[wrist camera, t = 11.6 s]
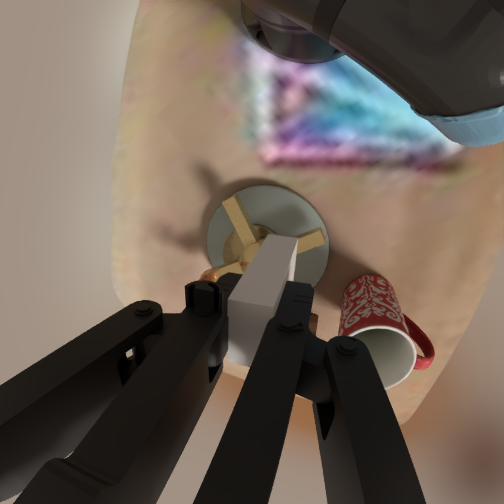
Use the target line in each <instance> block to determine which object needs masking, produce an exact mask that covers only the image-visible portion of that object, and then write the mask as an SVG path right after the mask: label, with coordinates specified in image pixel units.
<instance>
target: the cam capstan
mask: <svg viewBox="0 0 504 504" xmlns="http://www.w3.org/2000/svg"><path fill="white" fill-rule="evenodd" d="M222 204H223V206H224V208H225V210H226V212H227V213H228V215H229V217H230V219H231V221H232V223H233V225H234V227H235V230H234V231H233V232H232V233H231V234H230V235H229V236H228V238H227V239H226V241H225V244H224V248H223V257H224V261H225V263H224V264H222V265H219V266H217V267H214V268H212V269H209V270H206V271H205V272H204V273H203V274H202V275H201V278H200V279H199V280H198V281H200V280H207V281H213V282H216V281H217V280H218V279H219V277H220V276H222V275H224V274H226V273H228V272H231V273H237V274H244V272H245V271H246V269H247V267H248V266H249V264H250V263H251V261H252V259H253V258H254V256H255V255H256V253H257V251H258V250H259V248H260V247H261V245H262V243H263V242H264V240H265V239H266V237H267V235H268V234H272V235H278V234H277V233H276V232H275V231H273V230H272V229H270V228H269V227H267V226H264V225H261V224H254V223H252V221H251V219H250V217H249V215H248V213H247V211H246V209H245V207H244V205H243V203H242V201H241V199H240V197H239V195H238V194H236V195H234V196H232V197H230V198H227V199H226V200H224V201H223V202H222ZM294 238H298V244H297V253H296V254H299V253H301V252H304V251H307V250H309V249H312V248H315V247H318V246H320V245H323V244H325V243H326V238H325V235H324V233H323V231H322V228H321V226H320V227H318V228H315V229H312V230H310V231H307V232H305V233H302V234H299V235H297V236H294Z"/></svg>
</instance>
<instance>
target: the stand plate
mask: <svg viewBox="0 0 504 504" xmlns="http://www.w3.org/2000/svg"><path fill="white" fill-rule="evenodd" d="M236 194H238V195H239V197H240V199H241V201H242V203H243V205H244V207H245V209H246V211H247V213H248V215H249V217H250V219H251V221H252V223H254V224H261V225H264V226H267V227H269V228H270V229H272V230H273V231H275V232H276V233H277V234H278V235H280V236H287V237H294V236H297V235H299V234H302V233H305V232H307V231H310V230H312V229H315V228H318V227H320V226H321V228H322V231H323V233H324V235H325V238H326V243H325V244H323V245H320V246H318V247H315V248H312V249H309V250H307V251H304V252H301V253H299V254H296V262H295V271H294V279H293V281H294V282H301V283H308V284H311V286H312V287H313V288H314V287H315V286H316V284H317V283H318V282H319V280H320V279H321V277H322V275H323V274H324V271H325V269H326V266H327V262H328V256H329V237H328V233H327V229H326V226H325V223H324V221H323V219H322V218H321V216H320V214H319V213H318V211H317V210H316V209H315V208H314V206H313V205H312V204H311V203H310V202H309V201H307V200H306V199H305V198H304V197H302V196H301V195H299V194H298V193H296V192H294V191H292V190H289V189H287V188H283V187H280V186H274V185H257V186H252V187H248V188H245V189H243V190H240V191H238V192H237V193H235V194H233V195H232V196H234V195H236ZM232 196H230V197H232ZM230 197H229V198H230ZM234 230H235V227H234V225H233V223H232V221H231V219H230V217H229V215H228V213H227V212H226V210H225V208H224V206H223V204H221V205H220V206H219V207H218V209H217V210H216V211H215V213H214V214H213V216H212V218H211V220H210V223H209V226H208V231H207V239H206V243H207V252H208V256H209V259H210V262H211V265H212V267H213V268H214V267H217V266H219V265H222V264H224V263H225V261H224V257H223V248H224V244H225V241H226V239H227V238H228V236H229V235H230V234H231V233H232V232H233V231H234Z"/></svg>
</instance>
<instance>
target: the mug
mask: <svg viewBox="0 0 504 504" xmlns="http://www.w3.org/2000/svg"><path fill="white" fill-rule="evenodd" d="M342 335H344V336H352V337H354V338H357V339H359V340H361V341H362V342H364V343H365V345H366V346H367V348H368V350H369V352H370V354H371V357H372V359H373V361H374V364H375V366H376V369H377V371H378V374H379V376H380V378H381V381H382V383H383V386H384V388H385V390H386V389H389V388H391V387H394V386H395V385H397V384H399V383H400V382H402V381H403V380H404V379H405V378H406V377H407V376H408V375H409V374H410V372H411V371H412V369H417V370H424V369H426V368H428V367H429V366H430V364H431V363H432V361H433V359H434V355H435V352H434V348H433V345H432V343H431V341H430V340H429V338H428V337H427V336H426V334H425V333H424V332H423V331H422V330H421V329H420V328H419V327H418V326H417V325H416V324H415V323H414V322H413V321H412V320H410V319H409V318H408V317H407V316H406V315H405V314H403V313H402V311H401V308H400V305H399V302H398V300H397V297H396V294H395V291H394V289H393V287H392V285H391V284H390V283H389V282H388V281H387V280H386V279H384V278H383V277H381V276H377V275H364V276H361V277H358V278H357V279H355V280H353V281H352V282H351V283H350V284H349V285H348V287H347V288H346V290H345V292H344V296H343V302H342V311H341V318H340V326H339V332H338V336H342ZM412 339H413V340H414V341H415V342H416V343H417V345H418V346H419V347H420V348H421V350H422V352H423V353H424V356H425V357H422V356H420V355H417V352H416V346H415V344H414V342H413V340H412Z"/></svg>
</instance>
